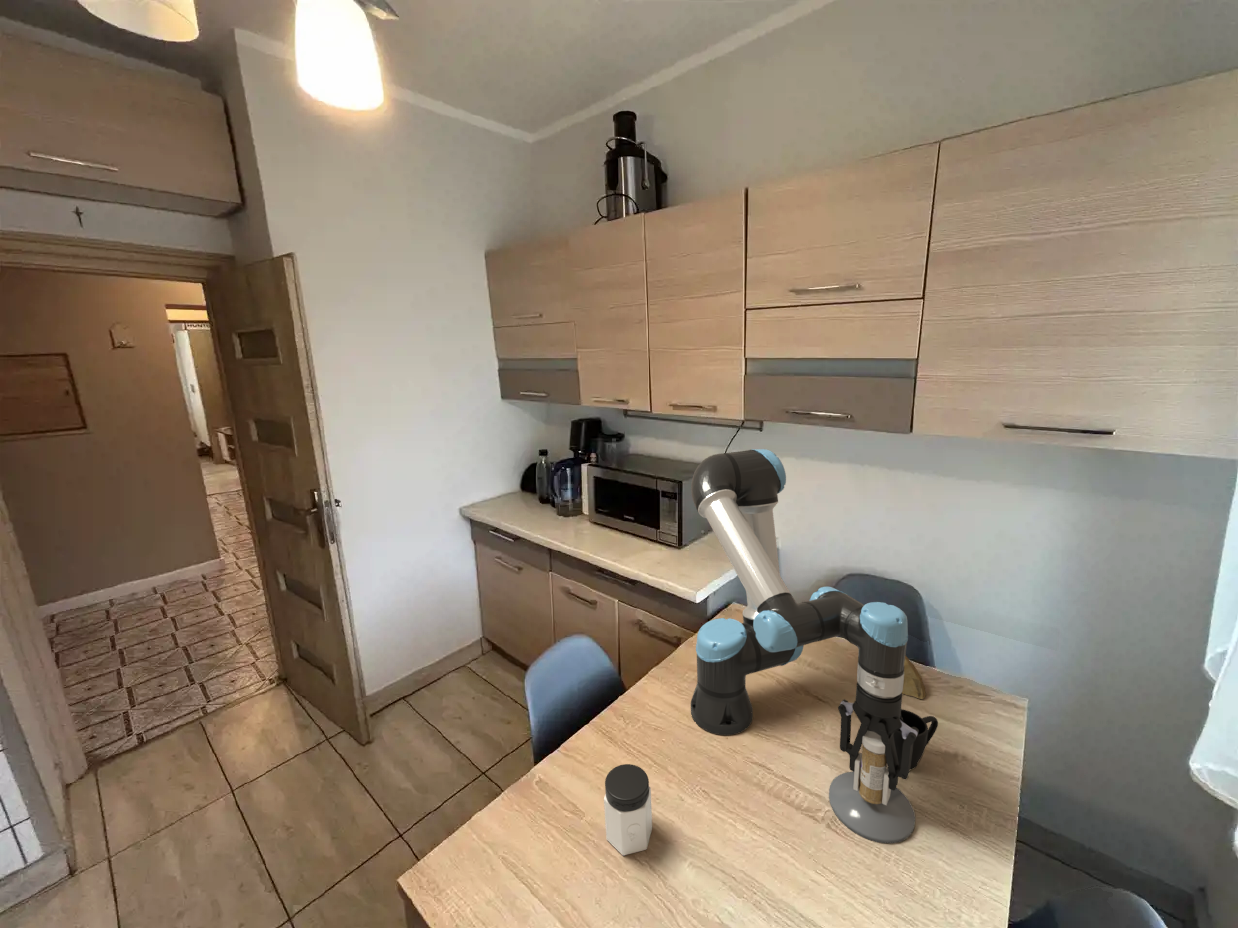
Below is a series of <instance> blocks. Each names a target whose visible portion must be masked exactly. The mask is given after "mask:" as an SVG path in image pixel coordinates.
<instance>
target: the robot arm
mask: <svg viewBox="0 0 1238 928" xmlns="http://www.w3.org/2000/svg"><path fill="white" fill-rule="evenodd" d="M786 474H787V473H786V470H785V467H784V463H782V460H781V459H780V458H779V457H778V456H777V454H776V453H774V452H773V451H771V450H769V449H766V448H761V449H758V448H757V449H756V448H755V449H754V448H752V449H746V450H740V451H733V452H726V453H716V454H712V455H710V456H708V457H706V458H704V459H703V460H702V461H701V462H700V463H699V464H698V465H697V467H696V469H695V470H694V473H693V474H692V479H691V486H690V487H691V488H690V491H691V498H692V501H693V504H694V508H695V509H696V510H697V512H698V515H699V516H700V517H702V518H703V519H706V520H707V522H708V523H709V526H710V527H711V530H712V531H713V532H714V534H715V536H716V538H717V540H718V542H719V544H720V546H721V547H722V549H723V551H724V553H725V556H727V558H728V560H729V562H730V564H731V566H732V567H733V569H734V571H735V573H736V575H737V577H738V579H739V581H740V582H741V584H742V586H743V588H744V590H745V592H746V593H745V594H746V603H747V606H746V607H745V608H744V609H743V610H742V619H743V622H740V621H739V620H737V619H734V618H730V617H729V618H727V619H726V618H725V617H721V618H715V619H714V618H713V619H711V620H709V621H707V622H705V623H704V624H703V625H702V626H701V627H700V628H699V630H698V632H697V635H696V644H695V652H696V675H697V676H696V677H697V679H696V680H697V681H696V682H697V683H696V686H695V689H694V691H693V694H692V697H691V700H690V715H692V716H691V718H692V720H693V721H694V722H696V723H695V725H698V726H699V728H701V729H703V730H704V731H706V732H709V733H710V734H715V735H718V736H719V735H720V736H733V735H736V734H740V733H742V732H744V731H745V730H747V729H748V728H749V727H750V726H751V724H752V722H753V711H754V709H753V703H752V701H751V699H750V696H749V693H748V690H747V688H746V686H747V685H746V680H747V679H746V678H747V675H751V674H755V673H758V672H761V671H765V670H769V669H772V668H773V669H774V668H775V667H776V668H777V667H783V666H785V665H788V664H789V663H791V662H794V661H797V659H798V658H800V657H801V655H802V654H803V650H804V646H806V645H810V644H812V643H817V642H821V641H825V640H829V639H832V638H836V637H841V638H843V639H844V640H846V641H847V642H849V643H850V644H852V645H853V646H856V647H857V649H858V653H857V654H858V658H857V672H856V673H857V676H856V687H855V688H856V689H855V690H856V691H855V700H854V701H853V702H849V701H848V700H847V699H845V698H844V699H842V700H841V702H840V704H839V705H838V707H837V708H838V710H837V711H838V712H839V715H840V735H839V739H840V740H839V749H840V751H842V752H843V753H844V752H846V753H847V755H848V756H849V762H848V763H849V764H848V767H849V771H850V772H854V787H853V789H854V790H856V791H858V789H859V786H860V771H861V758H862V752H860V751H861V750H862V749H861V748H862V747H863V744H862V739H863V736H865V734H866V732H867V730H868V731H872V732H875V733H877V734H878V735H880V736H881V741H882V742H883V744H884V745H885V756H886V761H887V768H886V771H885V774H884V783H883V796H882V804H884V805H887V803H888V800H889V798H890V792H891V790H893V791H894V790H895V789H896V787H897V786H898V781H899V780H898V779H899V778H901V779H902V780H908V777H909V774H910V772H911V770H912V769H911V760H912V751H913V742H914V741H915V739H916V737H917V734H918V732H919V730H918V729H917V728H916V727H909V726H908V725H906V724H905V723H904V722H903V718H902V716H901V709H902V703H903V702H902V701H903V694H902V691H903V682H904V661H905V655H906V652H907V647H908V645H907V644H908V640H909V632H908V627H909V625H908V616H907V615H906V613H905V611H903V610H902V609H901V608H899V607H898V606H896V605H893V604H887V603H886V602H882V601H881V602H880V601H873V602H872V601H871V602H868V603H866V604H863V603H862V602H861V601H858V600H857V599H855V598H853V597H852V596H850V595H849V594H847V593H845V592H843V591H840V590H839V589H836V588H835V587H831V586H822V587H821V586H820V587H819V588H818V590H817V591H814V592H813V593H812V594H811V596H810V598H809V600H808V601H802V602H797V601H796V600H795V598H794V597H793V595H792V593H791V592H790V590H789V588H788V587H787V585H786V584H785V582H784V580H783V579H782V577H781V573H780V571H781V570H780V564H779V555H778V554H779V553H778V546H777V538H776V537H777V535H776V529H775V520H774V512H773V511H774V508H775V507H776V506H777V504H778V503H779V496H778V494H780V493H781V492H782V491H783V490H784V489H785V486H786V483H787V475H786ZM853 713H854V714H855V716H856V717H857V718H858V720H859V722H860V725H859V728H858V731H857V734H856V736H855V739H854V742H853V743H851V735H852V734H851V733H852V714H853ZM899 729H901V731H902V736H903V739H905V740H904V743H903V750H902V759H901V766H899V763H898V758H897V753H896V747H895V742H894V732H895V731H897V730H899ZM897 788H898V787H897Z"/></svg>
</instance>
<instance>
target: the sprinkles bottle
mask: <svg viewBox="0 0 1238 928" xmlns="http://www.w3.org/2000/svg"><path fill="white" fill-rule="evenodd" d="M861 750H862V751H861V753H862V758H861V771H860V786H859V794H860V795H861V797H862V798H863V799H864V800H866V801H867V802H869V803H872V804H880V803H882V796H883V783H884V774H885V771H886V769H887V767H888V766H887V761H886V756H885V745H884V744H883V742H882V741H881V736H880V735H878V734H877V733H875V732H872V731H868V730H867V732H866V734H865V736H863V739H862V749H861Z"/></svg>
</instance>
